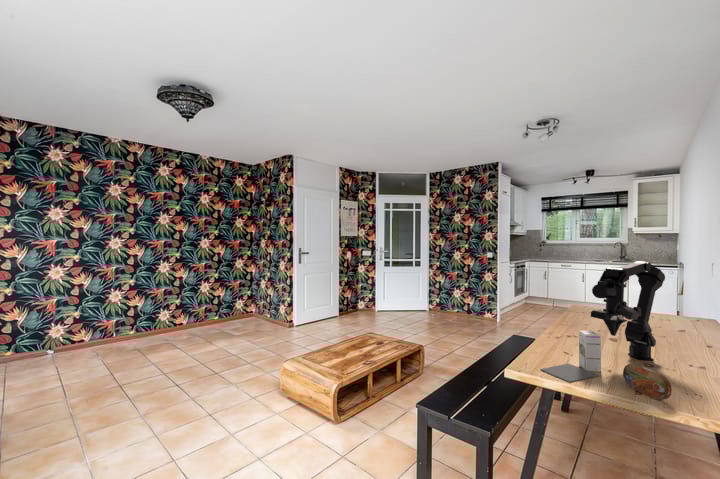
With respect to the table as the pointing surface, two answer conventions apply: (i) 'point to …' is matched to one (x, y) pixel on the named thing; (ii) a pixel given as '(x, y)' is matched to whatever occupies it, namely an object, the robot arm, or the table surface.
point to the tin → (647, 381)
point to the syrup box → (590, 350)
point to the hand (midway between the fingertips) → (613, 335)
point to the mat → (569, 372)
